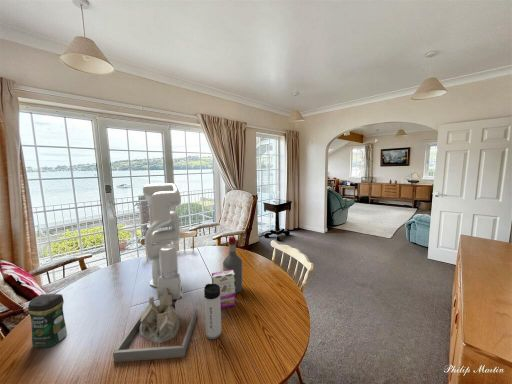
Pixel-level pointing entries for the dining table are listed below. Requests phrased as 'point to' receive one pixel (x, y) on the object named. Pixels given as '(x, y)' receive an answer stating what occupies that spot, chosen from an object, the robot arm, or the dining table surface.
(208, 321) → the travel mug
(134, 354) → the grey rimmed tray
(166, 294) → the ceramic cottage
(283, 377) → the dining table surface
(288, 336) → the dining table surface
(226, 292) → the candy bar box
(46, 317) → the coffee jar
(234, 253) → the liquor
